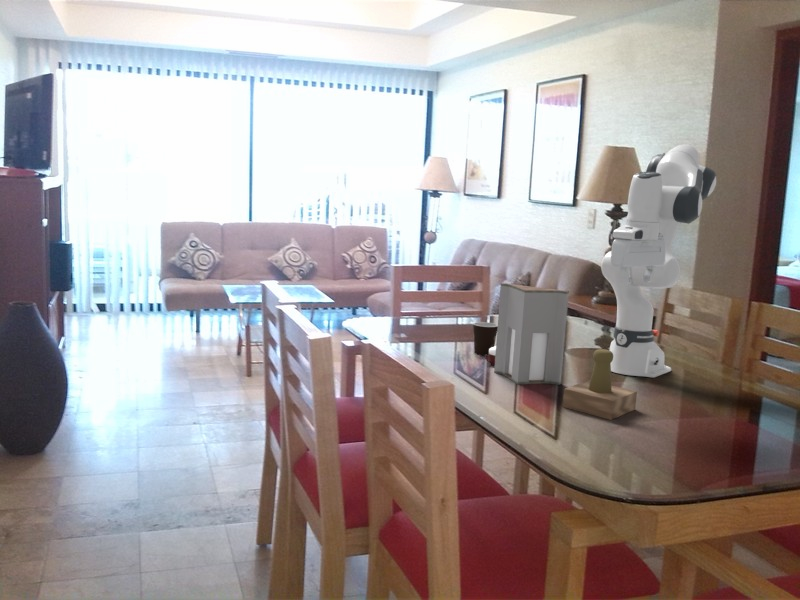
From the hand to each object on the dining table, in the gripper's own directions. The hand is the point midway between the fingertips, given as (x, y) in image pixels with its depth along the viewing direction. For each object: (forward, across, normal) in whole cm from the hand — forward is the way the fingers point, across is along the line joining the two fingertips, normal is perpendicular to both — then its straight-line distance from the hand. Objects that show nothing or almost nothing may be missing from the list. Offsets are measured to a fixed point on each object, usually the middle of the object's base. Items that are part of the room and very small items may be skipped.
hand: (636, 282), depth 209 cm
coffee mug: (+33, -5, -61) cm, 70 cm away
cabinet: (+33, +12, -28) cm, 45 cm away
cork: (+28, +14, +2) cm, 32 cm away
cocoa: (+33, +4, -46) cm, 57 cm away
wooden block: (+33, +14, +2) cm, 36 cm away
